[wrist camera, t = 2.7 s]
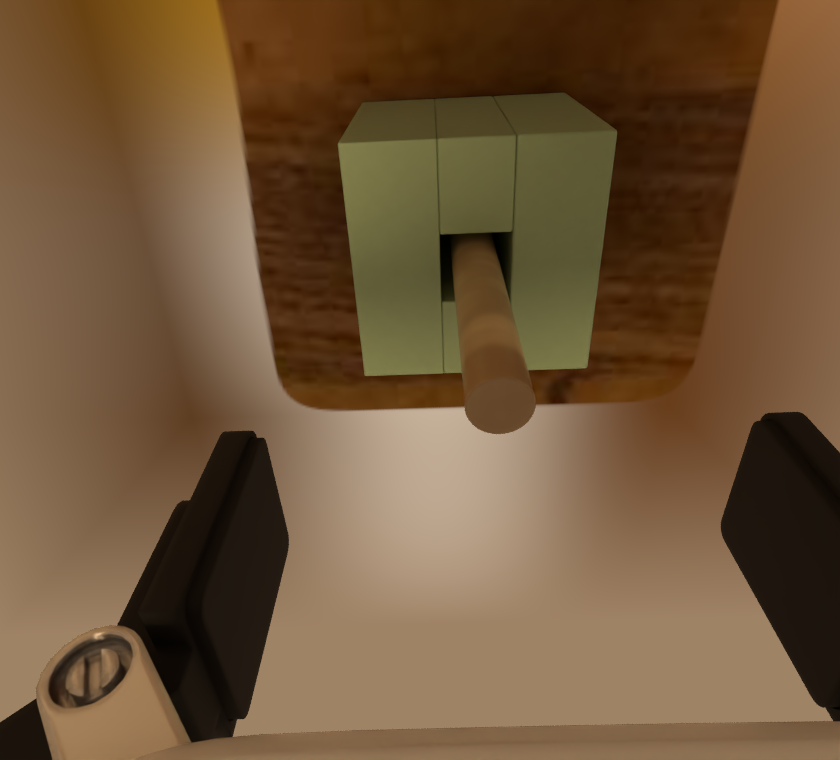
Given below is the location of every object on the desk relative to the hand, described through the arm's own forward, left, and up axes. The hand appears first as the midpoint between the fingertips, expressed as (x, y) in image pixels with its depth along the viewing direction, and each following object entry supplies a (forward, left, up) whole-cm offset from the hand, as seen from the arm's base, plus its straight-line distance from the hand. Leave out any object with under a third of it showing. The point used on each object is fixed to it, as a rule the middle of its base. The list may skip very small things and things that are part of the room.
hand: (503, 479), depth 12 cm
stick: (0, 0, -18) cm, 18 cm away
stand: (0, 0, -18) cm, 18 cm away
